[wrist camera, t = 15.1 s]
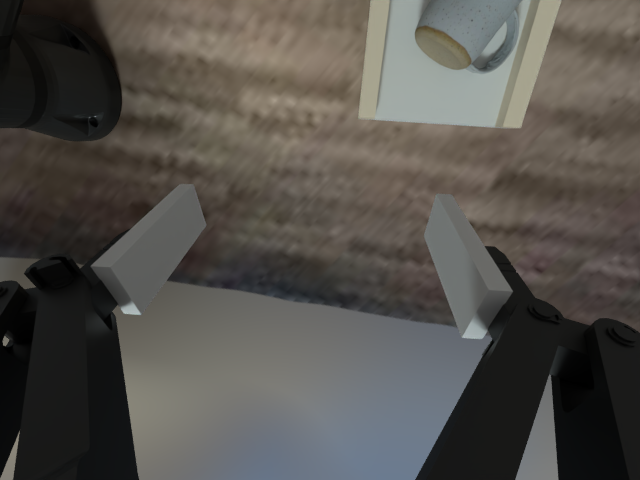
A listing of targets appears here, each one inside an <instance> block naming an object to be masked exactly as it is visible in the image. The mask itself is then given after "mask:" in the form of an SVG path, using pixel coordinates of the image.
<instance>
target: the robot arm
mask: <svg viewBox="0 0 640 480" xmlns="http://www.w3.org/2000/svg"><path fill="white" fill-rule="evenodd" d="M23 2H24V0H0V128H25V129H29V130H32V131H36V132H39V133H43V134H46V135H50V136H53V137H57V138H60V139H64V140H68V141H94V140H98V139H101V138H103V137H105V136H106V135H107V134H109V133H110V132H111V131H112V129H113V128H114V127H115V125H116V123H117V121H118V118H119V115H120V109H121V94H120V87H119V83H118V80H117V77H116V74H115V71H114V69H113V67H112V65H111V63H110V61H109V59H108V58H107V56H106V54H105V53H104V52H103V50H102V49H101V48H100V46H99V45H98V44H97V43H96V42H95V41H94V40H93V39H92V38H91V37H90V36H89V35H87V34H86V33H85V32H83V31H82V30H80V29H79V28H77V27H75V26H73V25H71V24H68V23H66V22H63V21H60V20H58V19H55V18H52V17H48V16H43V15H20V12H21V8H22V5H23ZM205 227H206V223H205V220H204V216H203V213H202V210H201V207H200V204H199V200H198V197H197V194H196V191H195V188H194V184H180V185H178V186H177V187H176V188H175V189H174V190H173V191H172V192H171V193H170V194H169V195H168V196H166V197H165V198H164V199H163V200H162V201H161V202H160V203H159V204H158V205H157V206H155V207H154V208H153V209H152V210H151V211H150V212H149V213H148V214H147V215H146V216H145V217H143V218H142V219H141V220H140V221H139V222H138V223H137V224H136V225H135V226H134V227H133V228H131V229H128V230H127V231H125V232H123V233H121V234H119V235H118V236H116V237H115V238H114V239H113V240H112V241H111V242H110V244H107V245H106V246H105V247H104V248H103V250H101V251H100V252H99V253H97V254H96V255H95V256H94V257H93V258H92V259H91V260H90V261H88V262H87V263H86V264H85V265H84V266H83V267H82V268H81V269H80V268H79V267H78V266H77V264H76V263H75V262H74V260H73V259H72V258H71V256H70V255H67V254H57V255H52V256H49V257H46V258H43V259H41V260H39V261H37V262H36V263H34V264H32V265H31V266H30V267H29V268H28V269H27V270H26V271H25V273H24V274H25V275H26V276H27V277H28V279H30V281H31V282H32V283H33V284H34V285H35V286H36V287H35V288H29V289H23V288H22V287H21V286H20V284H18V282H16V281H3V282H0V477H1V475H2V472H3V470H4V467H5V465H6V462H7V460H8V458H9V455H10V453H11V450H12V448H13V445H14V443H15V441H16V438H17V436H18V433H19V431H20V434H19V442H18V449H17V456H16V463H15V471H14V478H13V480H139V477H138V473H137V465H136V458H135V451H134V444H133V436H132V429H131V423H130V416H129V408H128V401H127V394H126V387H125V380H124V373H123V366H122V359H121V351H120V344H119V337H118V331H117V323H116V317H115V315H114V313H113V312H112V311H113V310H114V308H115V307H116V306H117V305H119V307H120V308H121V310H122V311H123V313H124V314H136V315H137V314H138V315H142V313H143V312H144V310H145V309H146V308H147V307H148V305H149V304H150V302H151V301H152V300H153V298H154V297H155V296H156V294H157V293H158V291H159V290H160V289H161V287H162V286H163V284H164V283H165V282H166V280H167V279H168V278H169V276H170V275H171V273H172V272H173V271H174V269H175V268H176V267H177V265H178V264H179V262H180V261H181V260H182V258H183V257H184V256H185V254H186V253H187V251H188V250H189V249H190V247H191V246H192V245H193V243H194V242H195V240H196V239H197V238H198V236H199V235H200V234H201V232H202V231H203V229H204V228H205ZM424 237H425V240H426V243H427V246H428V248H429V251H430V254H431V256H432V259H433V262H434V264H435V267H436V270H437V272H438V275H439V278H440V281H441V283H442V286H443V289H444V291H445V294H446V297H447V299H448V302H449V305H450V307H451V310H452V313H453V316H454V318H455V321H456V324H457V326H458V329H459V332H460V334H461V337H462V338H473V339H482V338H483V337H484V335H485V334H486V332H487V331H489V333H490V335H491V337H492V341H491V342H490V344H489V345H488V347H487V348H486V349H485V351H484V353H483V354H482V355H483V356H482V358H481V360H480V362H479V364H478V366H477V367H476V369H475V371H474V373H473V375H472V377H471V379H470V380H469V382H468V384H467V386H466V388H465V389H464V391H463V393H462V395H461V397H460V399H459V400H458V402H457V404H456V406H455V408H454V410H453V411H452V413H451V415H450V417H449V419H448V421H447V422H446V424H445V426H444V428H443V430H442V432H441V434H440V435H439V437H438V439H437V441H436V443H435V444H434V446H433V448H432V450H431V452H430V454H429V456H428V457H427V459H426V461H425V463H424V465H423V466H422V468H421V470H420V472H419V474H418V476H417V478H416V479H415V480H515V478H516V475H517V472H518V469H519V466H520V463H521V460H522V457H523V453H524V450H525V447H526V444H527V441H528V438H529V435H530V432H531V429H532V426H533V423H534V419H535V416H536V413H537V410H538V407H539V404H540V401H541V398H542V395H543V392H544V389H545V385H546V382H547V379H548V376H549V374H550V375H551V381H552V395H553V409H554V422H555V436H556V450H557V464H558V478H559V480H640V333H639V332H638V331H636V330H635V329H633V328H631V327H630V326H628V325H626V324H624V323H621V322H619V321H617V320H613V319H608V318H600V319H598V320H596V321H595V322H594V323H593V324H592V325H591V326H589V325H586V324H582V323H579V322H575V321H572V320H569V319H565V318H564V317H563V316H562V314H561V313H560V312H559V311H558V310H557V309H556V308H555V307H554V306H552V305H550V304H549V303H547V302H545V301H542V300H540V299H537V298H535V297H534V296H533V294H532V293H531V291H530V290H529V288H528V287H527V286H526V284H525V283H524V281H523V280H522V279H521V277H520V276H519V274H518V273H516V270H515V269H514V267H513V266H512V265H511V263H510V261H509V260H508V259H507V257H506V256H505V254H503V253H502V252H501V251H499V250H498V249H497V248H496V247H490V246H484V245H483V243H482V242H481V240H480V238H479V237H478V235H477V234H476V232H475V231H474V229H473V227H472V226H471V224H470V223H469V221H468V220H467V218H466V216H465V215H464V213H463V212H462V210H461V209H460V207H459V205H458V204H457V202H456V201H455V199H454V197H453V196H452V194H436V197H435V201H434V204H433V207H432V211H431V214H430V217H429V221H428V224H427V227H426V231H425V234H424ZM4 336H6V337H7V338H8V339H9V342H8V344H7V345H6V346H3V342H2V341H3V338H4Z"/></svg>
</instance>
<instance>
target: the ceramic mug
mask: <svg viewBox="0 0 640 480" xmlns="http://www.w3.org/2000/svg"><path fill="white" fill-rule="evenodd" d="M521 1H522V0H430V2H429V4H428V5H427V7H426V9H425V10H424V12H423V14H422V16H421V18H420V20H419V23H418V25H417V27H416V30H415V40H416V43H417V45H418V46H419V48H420V49H421V50H422V51H423V52H424V53H425V54H426V55H427V56H428V57H430V58H431V59H432V60H434V61H435V62H437V63H439V64H440V65H442V66H444V67H447V68H449V69H453V70H461V69H466V70H468V71H470V72H472V73H478V74H485V73H489V72H492V71H494V70H495V69H497V68H498V67H499V66H500V65H502V64H503V63H504V62H505V60H506V59H507V58H508V57H509V55H510V54H511V52H512V51H513V49H514V47H515V45H516V42H517V39H518V35H519V18H518V14H517V11H516V8H517V6H518V5H519V4H520V3H521ZM505 21H506V24H507V35H506V40H505V42H504V44H503V46H502V48H501V49H500V51H499V52H498V53H497V54H496V55H495V56H494V58H493V59H492V60H491V61H489V62H488V63H487V64H486V66H485V67H483V68H480V69H479V68H477V67H476V66H474V64H472V63H473V62H474V61H475V60H476V59H477V58H478V56H479V55H480V54H481V53H482V52H483V50H484V49H485V48H486V46H487V45H488V43H489V42H490V41H491V39H492V38H493V37H494V35H495V34H496V33H497V32H498V30H499V29H500V28H501V27H502V25H503V24H504V23H505Z"/></svg>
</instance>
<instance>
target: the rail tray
mask: <svg viewBox="0 0 640 480" xmlns="http://www.w3.org/2000/svg"><path fill="white" fill-rule="evenodd" d="M429 2H430V0H371V2H370V11H369V21H368V30H367V40H366V49H365V58H364V68H363V77H362V87H361V96H360V105H359V115H358V119H368V120H384V121H400V122H416V123H431V124H447V125H463V126H478V127H494V128H521V125H522V122H523V119H524V116H525V113H526V110H527V106H528V103H529V100H530V97H531V94H532V91H533V88H534V85H535V81H536V78H537V75H538V72H539V69H540V66H541V63H542V60H543V56H544V53H545V50H546V47H547V44H548V41H549V38H550V35H551V31H552V28H553V25H554V22H555V19H556V16H557V13H558V9H559V6H560V3H561V0H522V1H521V3H520V4H519V5H518V6H517V8H516V11H517V14H518V18H519V35H518V39H517V42H516V45H515V47H514V49H513V51H512V52H511V54H510V55H509V57H508V58H507V59H506V60H505V62H504V63H503V64H502V65H500V66H499V67H498V68H497V69H495V70H494V71H492V72H489V73H485V74H478V73H472V72H470V71H468V70H466V69H461V70H453V69H449V68H447V67H444V66H442V65H440V64H439V63H437V62H435V61H434V60H432V59H431V58H430V57H428V56H427V55H426V54H425V53H424V52H423V51H422V50H421V49H420V48H419V46H418V45H417V43H416V40H415V30H416V27H417V25H418V23H419V20H420V18H421V16H422V14H423V12H424V10H425V9H426V7H427V5H428V4H429ZM506 35H507V24H506V21H505V23H504V24H503V25H502V27H501V28H500V29H499V30H498V32H497V33H496V34H495V35H494V37H493V38H492V39H491V41H490V42H489V43H488V45H487V46H486V48H485V49H484V50H483V52H482V53H481V54H480V55H479V56H478V58H477V59H476V60H475V61H474V62H473V63H472V64H474V66H476V67H477V68H479V69H480V68H483V67H485V66H486V64H487V63H488V62H489V61H491V60H492V59H493V58H494V56H495V55H496V54H497V53H498V52H499V51H500V49H501V48H502V46H503V44H504V42H505V40H506Z"/></svg>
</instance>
